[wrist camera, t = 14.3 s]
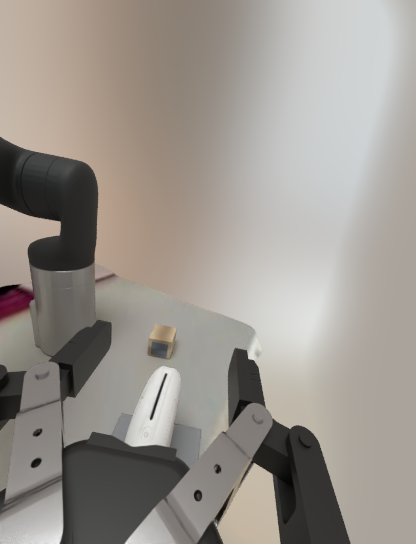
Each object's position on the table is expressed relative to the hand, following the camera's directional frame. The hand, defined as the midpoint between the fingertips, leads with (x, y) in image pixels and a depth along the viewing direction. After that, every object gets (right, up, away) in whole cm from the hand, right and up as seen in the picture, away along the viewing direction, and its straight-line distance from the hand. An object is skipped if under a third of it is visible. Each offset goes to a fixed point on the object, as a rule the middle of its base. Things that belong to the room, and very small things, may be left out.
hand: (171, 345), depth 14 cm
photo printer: (-5, -20, +14) cm, 24 cm away
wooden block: (-7, -12, +32) cm, 35 cm away
